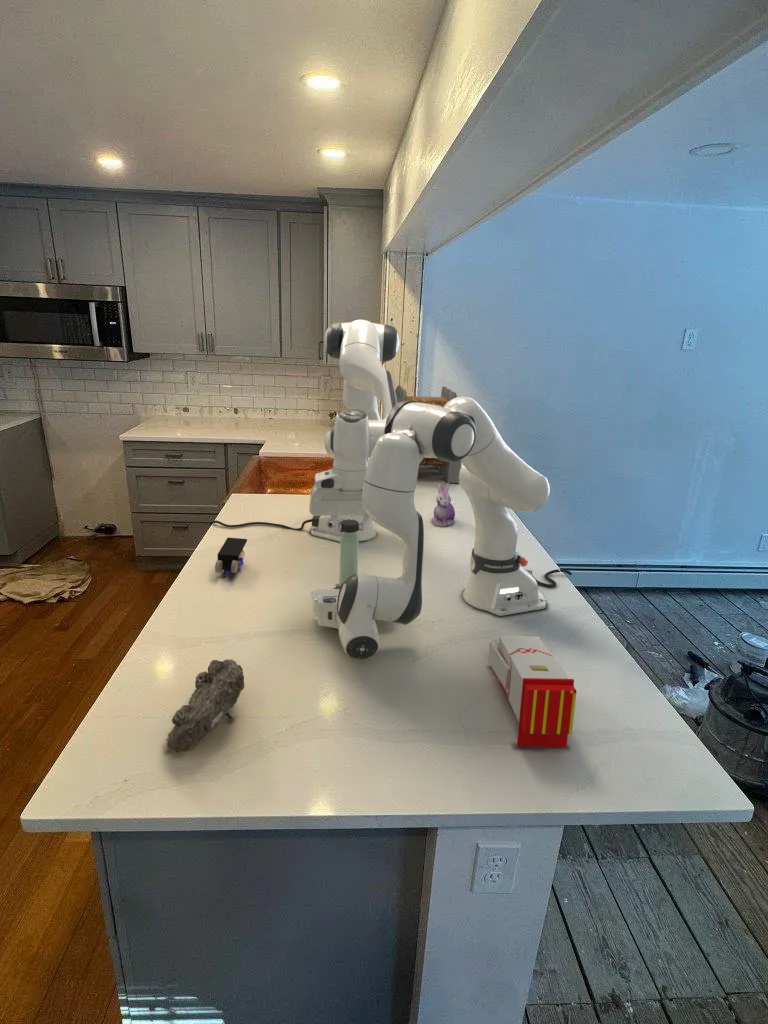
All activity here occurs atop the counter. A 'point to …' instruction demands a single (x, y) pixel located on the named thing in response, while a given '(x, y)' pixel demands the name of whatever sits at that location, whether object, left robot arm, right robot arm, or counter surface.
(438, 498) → the figurine
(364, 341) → the left robot arm
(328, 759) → the counter surface
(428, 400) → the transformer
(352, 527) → the cap
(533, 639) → the toy
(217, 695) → the fossil
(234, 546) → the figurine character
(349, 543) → the bottle
